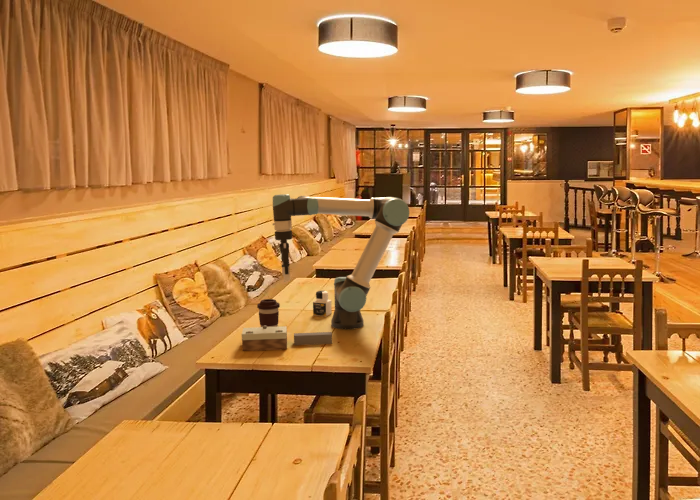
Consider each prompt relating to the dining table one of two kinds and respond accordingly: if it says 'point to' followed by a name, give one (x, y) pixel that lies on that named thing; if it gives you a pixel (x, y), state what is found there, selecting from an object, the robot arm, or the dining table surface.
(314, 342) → the block
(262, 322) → the coffee cup
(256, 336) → the door
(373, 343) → the dining table surface
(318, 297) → the medicine bottle
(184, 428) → the dining table surface
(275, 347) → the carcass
